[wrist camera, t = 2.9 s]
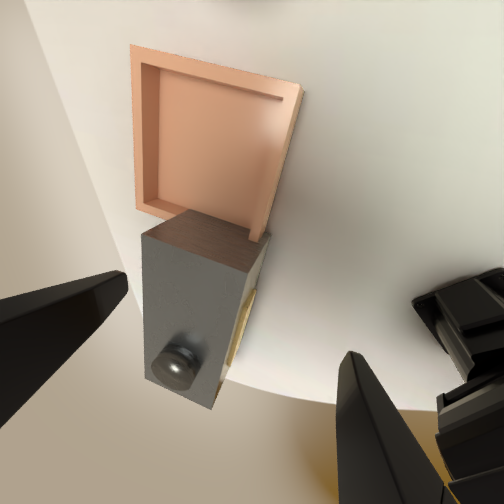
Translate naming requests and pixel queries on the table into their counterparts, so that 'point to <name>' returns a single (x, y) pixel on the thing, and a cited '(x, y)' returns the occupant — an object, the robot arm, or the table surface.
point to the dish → (208, 138)
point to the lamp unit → (196, 300)
